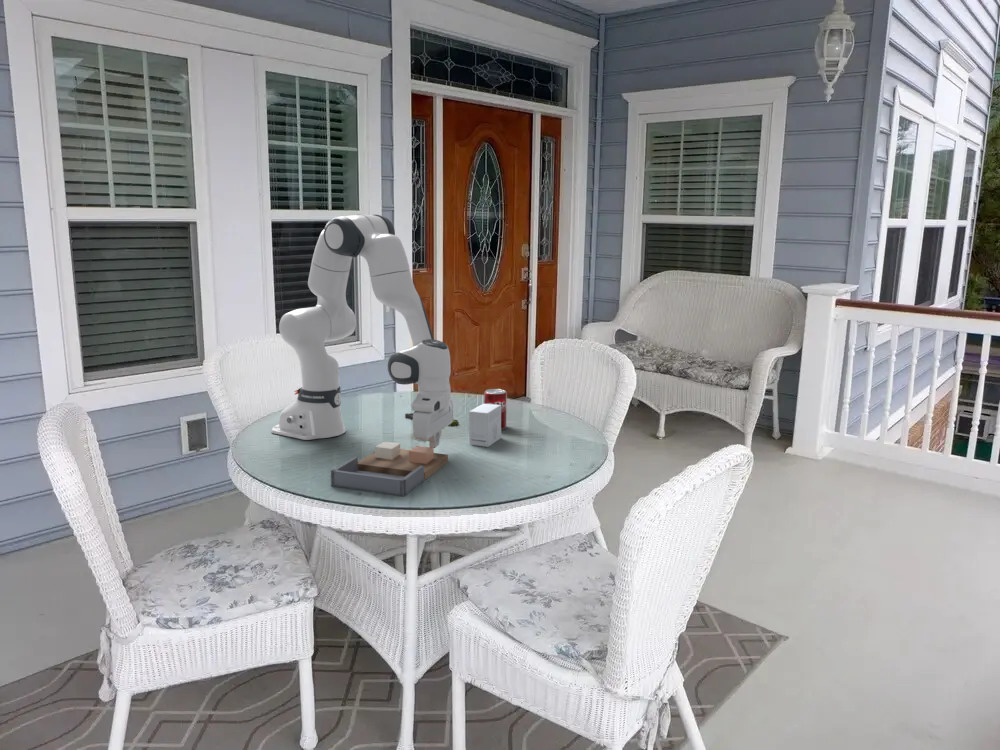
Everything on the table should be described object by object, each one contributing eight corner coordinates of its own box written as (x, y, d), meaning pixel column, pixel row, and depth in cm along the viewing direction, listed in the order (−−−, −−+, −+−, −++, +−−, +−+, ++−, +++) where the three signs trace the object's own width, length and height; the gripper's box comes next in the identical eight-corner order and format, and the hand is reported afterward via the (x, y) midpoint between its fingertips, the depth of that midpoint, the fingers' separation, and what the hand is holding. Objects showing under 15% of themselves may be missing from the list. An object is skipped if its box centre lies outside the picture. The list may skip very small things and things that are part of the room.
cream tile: (375, 457, 211) (375, 446, 210) (383, 452, 215) (383, 441, 215) (392, 459, 209) (391, 448, 209) (400, 454, 214) (400, 443, 213)
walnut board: (355, 470, 206) (355, 463, 206) (383, 453, 221) (383, 446, 220) (424, 480, 200) (424, 472, 199) (448, 461, 215) (448, 454, 214)
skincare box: (482, 435, 240) (482, 402, 238) (501, 438, 238) (502, 404, 236) (468, 444, 231) (468, 410, 229) (488, 447, 228) (488, 412, 226)
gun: (387, 424, 253) (420, 416, 265) (428, 434, 241) (461, 426, 253) (387, 416, 253) (420, 409, 264) (428, 426, 241) (461, 418, 252)
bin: (331, 486, 194) (330, 470, 194) (354, 471, 206) (354, 456, 205) (403, 496, 188) (403, 480, 187) (424, 480, 199) (424, 465, 199)
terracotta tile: (408, 461, 208) (408, 450, 207) (416, 456, 212) (416, 445, 212) (426, 463, 206) (426, 453, 206) (433, 458, 211) (433, 447, 210)
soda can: (509, 429, 247) (510, 393, 244) (488, 431, 244) (488, 394, 242) (501, 423, 253) (501, 388, 251) (480, 425, 251) (480, 389, 248)
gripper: (438, 389, 225) (438, 435, 228) (408, 406, 206) (408, 455, 209) (458, 391, 223) (458, 437, 226) (430, 408, 204) (430, 458, 207)
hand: (434, 446), depth 217 cm, fingers closed
